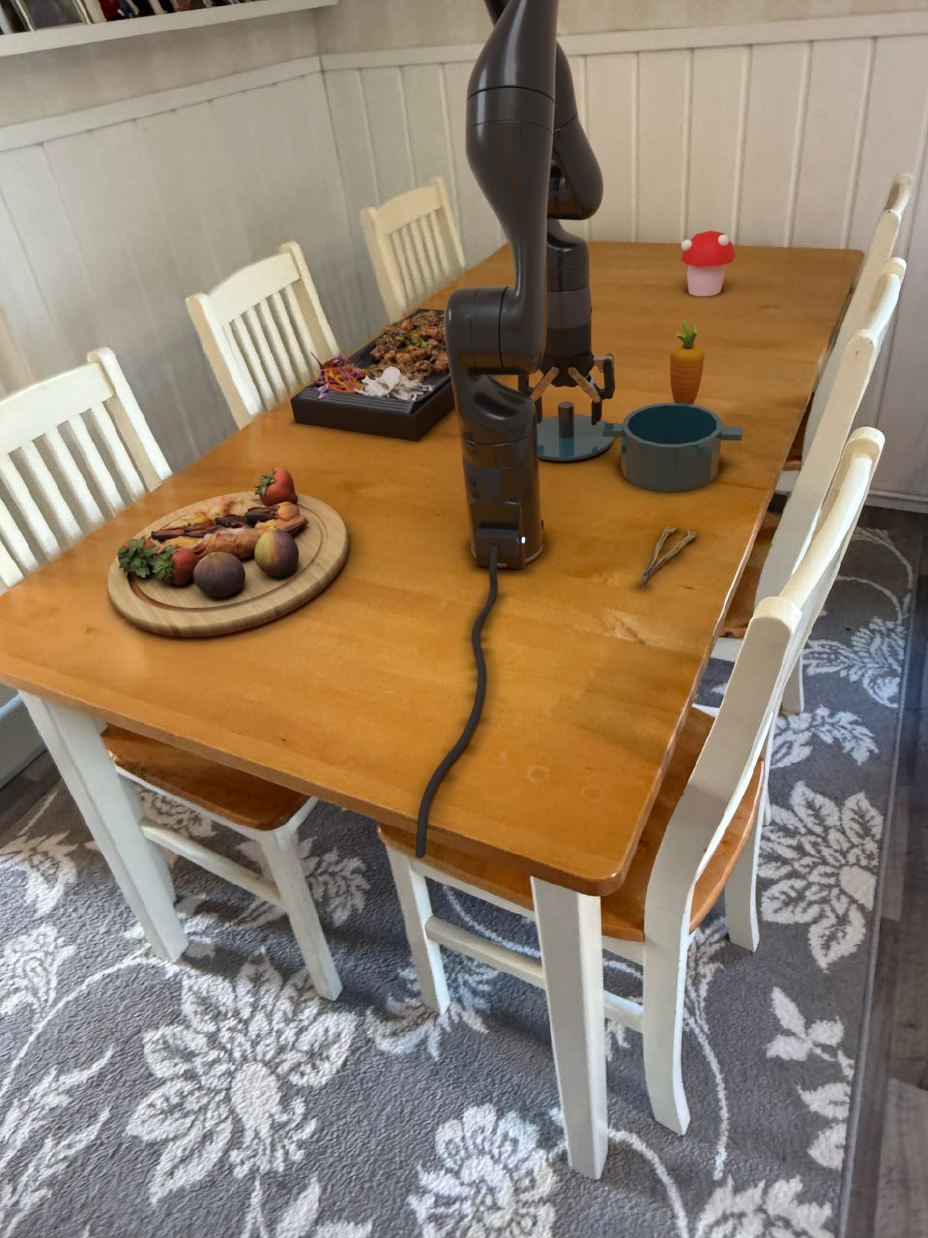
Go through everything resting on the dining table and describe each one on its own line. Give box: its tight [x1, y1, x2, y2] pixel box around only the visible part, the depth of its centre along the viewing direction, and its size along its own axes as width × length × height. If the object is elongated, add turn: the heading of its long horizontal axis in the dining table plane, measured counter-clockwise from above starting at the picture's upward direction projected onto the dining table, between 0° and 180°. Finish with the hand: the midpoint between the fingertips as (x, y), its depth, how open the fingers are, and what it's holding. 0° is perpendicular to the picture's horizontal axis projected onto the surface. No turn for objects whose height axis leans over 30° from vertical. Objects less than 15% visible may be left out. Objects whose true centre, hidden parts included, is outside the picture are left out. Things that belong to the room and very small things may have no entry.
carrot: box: [669, 319, 705, 405], centre depth 131 cm, size 5×5×15 cm
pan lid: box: [537, 401, 615, 462], centre depth 131 cm, size 15×15×6 cm
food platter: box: [289, 307, 455, 442], centre depth 155 cm, size 45×25×10 cm, turn 153°
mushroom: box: [680, 230, 736, 297], centre depth 176 cm, size 11×11×12 cm
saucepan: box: [603, 402, 743, 493], centre depth 121 cm, size 14×19×7 cm
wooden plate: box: [106, 467, 350, 638], centre depth 112 cm, size 32×32×8 cm
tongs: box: [640, 525, 698, 589], centre depth 105 cm, size 4×13×2 cm, turn 151°
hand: (566, 422), depth 131 cm, fingers open, 8 cm apart
